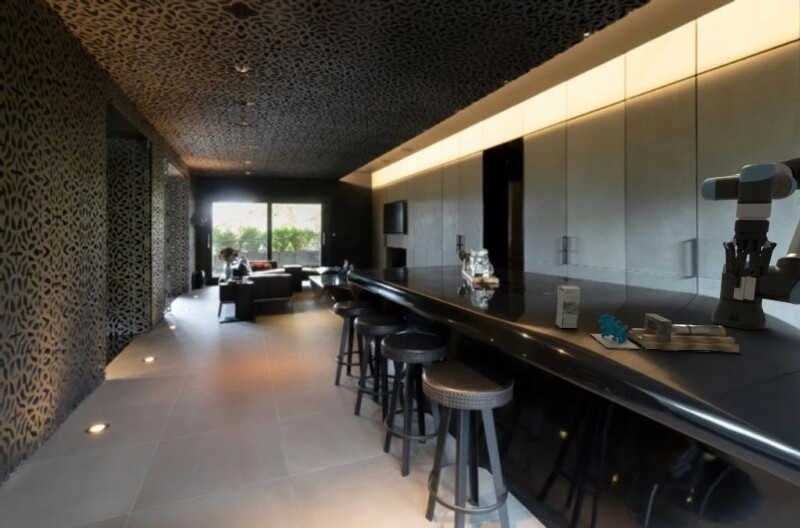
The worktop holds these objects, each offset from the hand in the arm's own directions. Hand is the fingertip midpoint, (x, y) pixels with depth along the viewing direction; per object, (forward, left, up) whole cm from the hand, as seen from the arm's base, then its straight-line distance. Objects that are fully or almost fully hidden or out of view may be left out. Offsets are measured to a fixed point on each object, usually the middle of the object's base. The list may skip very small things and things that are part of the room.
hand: (743, 298), depth 118 cm
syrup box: (+45, -16, -15) cm, 50 cm away
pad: (+36, 0, -14) cm, 39 cm away
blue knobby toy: (+36, -1, -14) cm, 38 cm away
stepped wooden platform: (+17, 0, -14) cm, 22 cm away
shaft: (+13, 0, -12) cm, 17 cm away
